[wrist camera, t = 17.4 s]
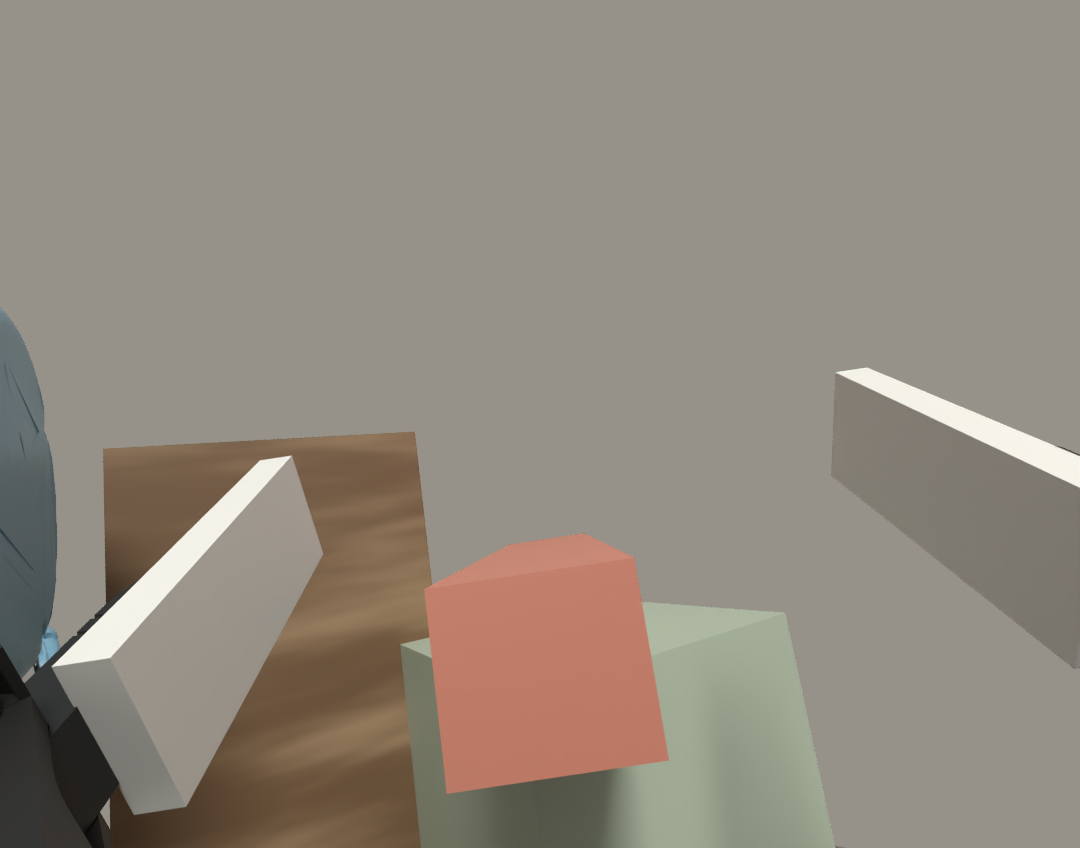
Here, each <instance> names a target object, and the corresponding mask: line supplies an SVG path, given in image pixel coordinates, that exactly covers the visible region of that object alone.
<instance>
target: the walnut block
mask: <svg viewBox="0 0 1080 848" xmlns="http://www.w3.org/2000/svg"><path fill="white" fill-rule="evenodd" d="M286 456H292V458H293V461H294V464H295V467H296V470H297V473H298V476H299V479H300V483H301V486H302V489H303V492H304V495H305V498H306V501H307V504H308V508H309V511H310V514H311V517H312V520H313V523H314V526H315V529H316V533H317V536H318V539H319V542H320V545H321V548H322V551H323V555H322V557H321V559H320V561H319V563H318V565H317V567H316V568H315V570H314V572H313V574H312V576H311V578H310V579H309V581H308V583H307V585H306V587H305V589H304V590H303V592H302V594H301V596H300V598H299V600H298V602H297V603H296V605H295V607H294V609H293V611H292V613H291V614H290V616H289V618H288V620H287V622H286V624H285V626H284V627H283V629H282V631H281V633H280V635H279V637H278V638H277V640H276V642H275V644H274V646H273V648H272V650H271V651H270V653H269V655H268V657H267V659H266V661H265V662H264V664H263V666H262V668H261V670H260V672H259V673H258V675H257V677H256V679H255V681H254V683H253V685H252V686H251V688H250V690H249V692H248V694H247V696H246V697H245V699H244V701H243V703H242V705H241V707H240V709H239V710H238V712H237V714H236V716H235V718H234V720H233V721H232V723H231V725H230V727H229V729H228V731H227V732H226V734H225V736H224V738H223V740H222V742H221V744H220V745H219V747H218V749H217V751H216V753H215V755H214V756H213V758H212V760H211V762H210V764H209V766H208V768H207V769H206V771H205V773H204V775H203V777H202V779H201V780H200V782H199V784H198V786H197V788H196V790H195V792H194V793H193V795H192V797H191V799H190V801H189V803H188V804H187V806H186V807H182V808H175V809H169V810H163V811H156V812H150V813H143V814H137V815H134V814H133V812H132V810H131V809H130V807H129V805H128V803H127V801H126V800H125V798H124V796H123V794H122V793H121V791H120V789H119V787H118V786H117V788H116V789H115V790H114V792H113V793H112V795H111V796H110V832H111V837H112V841H113V846H114V848H421V843H420V833H419V823H418V814H417V804H416V794H415V784H414V775H413V765H412V755H411V745H410V735H409V726H408V716H407V706H406V696H405V686H404V677H403V667H402V657H401V647H400V644H404V643H408V642H412V641H417V640H421V639H425V638H429V628H428V619H427V610H426V601H425V592H424V589H426V588H428V587H430V586H431V585H432V581H431V571H430V562H429V554H428V545H427V536H426V528H425V518H424V509H423V501H422V492H421V483H420V475H419V465H418V456H417V448H416V439H415V432H401V433H383V434H365V435H346V436H330V437H312V438H311V437H310V438H292V439H273V440H255V441H238V442H219V443H201V444H183V445H164V446H147V447H130V448H129V447H128V448H110V449H103V459H104V460H103V465H104V517H105V565H106V566H105V570H106V604H107V603H108V602H109V601H110V600H111V599H112V598H113V597H114V596H115V595H116V594H118V593H119V592H121V591H122V590H124V589H126V588H127V587H129V586H130V585H132V584H133V583H135V582H136V581H138V580H139V579H141V578H142V577H143V576H144V575H145V574H146V573H147V572H148V571H149V570H150V569H151V568H152V567H153V566H154V565H155V564H156V563H157V562H158V561H159V560H160V559H161V558H162V557H163V556H164V555H165V554H166V553H167V552H168V551H169V550H170V549H171V548H172V547H173V546H174V545H175V544H176V543H177V542H178V541H179V540H180V539H181V538H182V537H183V536H184V535H185V534H186V533H187V532H188V531H189V530H190V529H191V528H192V527H193V526H194V525H195V524H196V523H197V522H198V521H199V520H200V519H201V518H202V517H203V516H204V515H205V514H206V513H207V512H208V511H209V510H210V509H211V508H212V507H213V506H215V505H216V504H217V503H218V502H219V501H220V500H221V499H222V498H223V497H224V496H225V495H226V494H227V493H228V492H229V491H230V490H231V489H232V488H233V487H234V486H235V485H236V484H237V483H238V482H239V481H240V480H241V479H242V478H243V477H244V476H245V475H246V474H247V473H248V472H249V471H250V470H251V469H252V468H253V467H254V466H255V465H256V464H257V463H258V462H259V461H260V460H266V459H273V458H279V457H286Z"/></svg>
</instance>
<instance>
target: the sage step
mask: <svg viewBox="0 0 1080 848" xmlns="http://www.w3.org/2000/svg"><path fill="white" fill-rule="evenodd" d="M642 606H643V612H644V618H645V623H646V629H647V635H648V641H649V647H650V652H651V658H652V664H653V670H654V675H655V681H656V687H657V693H658V699H659V704H660V710H661V716H662V722H663V728H664V733H665V739H666V745H667V751H668V756H669V761H662V762H656V763H649V764H642V765H636V766H629V767H622V768H616V769H609V770H602V771H596V772H589V773H582V774H576V775H569V776H562V777H556V778H549V779H542V780H536V781H529V782H522V783H516V784H509V785H502V786H496V787H489V788H482V789H475V790H469V791H462V792H455V793H449V794H447V791H446V782H445V773H444V764H443V755H442V746H441V737H440V728H439V719H438V710H437V701H436V692H435V683H434V674H433V665H432V656H431V647H430V637H429V638H425V639H421V640H417V641H412V642H408V643H404V644H400V647H401V657H402V667H403V677H404V686H405V696H406V706H407V716H408V726H409V735H410V745H411V755H412V765H413V775H414V784H415V794H416V804H417V814H418V823H419V833H420V843H421V848H835V844H834V840H833V835H832V830H831V826H830V821H829V816H828V812H827V807H826V802H825V798H824V793H823V788H822V784H821V779H820V774H819V769H818V765H817V760H816V755H815V751H814V746H813V742H812V737H811V732H810V727H809V723H808V718H807V713H806V709H805V704H804V699H803V694H802V690H801V686H800V681H799V676H798V671H797V666H796V662H795V658H794V652H793V648H792V643H791V638H790V634H789V629H788V624H787V619H786V615H785V613H778V612H766V611H753V610H741V609H728V608H714V607H702V606H689V605H688V606H687V605H676V604H663V603H649V602H642Z"/></svg>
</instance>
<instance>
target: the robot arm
mask: <svg viewBox="0 0 1080 848" xmlns="http://www.w3.org/2000/svg"><path fill="white" fill-rule="evenodd" d="M833 422H834V423H833V445H832V446H833V447H832V471H831V476H832V477H833V478H835V479H836V480H837V481H839V482H840V483H841V484H842V485H844V486H845V487H846V488H847V489H848V490H850V491H851V492H852V493H854V494H855V495H856V496H857V497H859V498H860V499H861V500H862V501H864V502H865V503H866V504H867V505H869V506H870V507H871V508H872V509H874V510H875V511H876V512H878V513H879V514H880V515H881V516H883V517H884V518H885V519H886V520H887V521H889V522H890V523H891V524H893V525H894V526H895V527H896V528H898V529H899V530H900V531H901V532H903V533H904V534H905V535H907V536H908V537H909V538H910V539H911V540H913V541H914V542H915V543H916V544H918V545H919V546H920V547H921V548H923V549H924V550H925V551H926V552H928V553H929V554H930V555H932V556H933V557H934V558H935V559H936V560H938V561H939V562H940V563H942V564H943V565H944V566H945V567H947V568H948V569H949V570H950V571H952V572H953V573H954V574H955V575H957V576H958V577H959V578H960V579H962V580H963V581H964V582H965V583H967V584H968V585H969V586H970V587H972V588H973V589H974V590H975V591H977V592H978V593H979V594H981V595H982V596H983V597H984V598H986V599H987V600H988V601H989V602H991V603H992V604H993V605H994V606H996V607H997V608H998V609H999V610H1001V611H1002V612H1003V613H1004V614H1006V615H1007V616H1008V617H1010V618H1011V619H1012V620H1013V621H1014V622H1016V623H1017V624H1018V625H1020V626H1021V627H1022V628H1023V629H1025V630H1026V631H1027V632H1028V633H1030V634H1031V635H1032V636H1033V637H1035V638H1036V639H1037V640H1039V641H1040V642H1041V643H1042V644H1044V645H1045V646H1046V647H1047V648H1048V649H1050V650H1051V651H1052V652H1054V653H1055V654H1056V655H1057V656H1059V657H1060V658H1061V659H1062V660H1064V661H1065V662H1066V663H1067V664H1069V665H1070V666H1071V667H1072V668H1074V669H1076V668H1080V455H1079V454H1077V453H1075V452H1072V451H1070V450H1067V449H1065V448H1062V447H1058V446H1054V445H1051V444H1049V443H1046V442H1044V441H1042V440H1039V439H1037V438H1035V437H1032V436H1030V435H1027V434H1025V433H1023V432H1020V431H1018V430H1015V429H1013V428H1010V427H1008V426H1006V425H1003V424H1001V423H998V422H996V421H994V420H991V419H989V418H987V417H984V416H982V415H979V414H977V413H975V412H972V411H970V410H967V409H965V408H962V407H960V406H958V405H955V404H953V403H951V402H948V401H945V400H943V399H941V398H939V397H936V396H934V395H931V394H929V393H927V392H924V391H922V390H919V389H917V388H915V387H912V386H910V385H907V384H905V383H903V382H900V381H898V380H895V379H893V378H891V377H888V376H886V375H883V374H881V373H878V372H876V371H874V370H871V369H869V368H861V369H855V370H848V371H842V372H836V373H835V398H834V421H833ZM322 555H323V551H322V548H321V545H320V542H319V539H318V536H317V533H316V529H315V526H314V523H313V520H312V517H311V514H310V511H309V508H308V504H307V501H306V498H305V495H304V492H303V489H302V486H301V483H300V479H299V476H298V473H297V470H296V467H295V464H294V461H293V458H292V456H286V457H279V458H273V459H266V460H260V461H259V462H258V463H257V464H256V465H255V466H254V467H253V468H252V469H251V470H250V471H249V472H248V473H247V474H246V475H245V476H244V477H243V478H242V479H241V480H240V481H239V482H238V483H237V484H236V485H235V486H234V487H233V488H232V489H231V490H230V491H229V492H228V493H227V494H226V495H225V496H224V497H223V498H222V499H221V500H220V501H219V502H218V503H217V504H216V505H215V506H213V507H212V508H211V509H210V510H209V511H208V512H207V513H206V514H205V515H204V516H203V517H202V518H201V519H200V520H199V521H198V522H197V523H196V524H195V525H194V526H193V527H192V528H191V529H190V530H189V531H188V532H187V533H186V534H185V535H184V536H183V537H182V538H181V539H180V540H179V541H178V542H177V543H176V544H175V545H174V546H173V547H172V548H171V549H170V550H169V551H168V552H167V553H166V554H165V555H164V556H163V557H162V558H161V559H160V560H159V561H158V562H157V563H156V564H155V565H154V566H153V567H152V568H151V569H150V570H149V571H148V572H147V573H146V574H145V575H144V576H143V577H142V578H141V579H139V580H138V581H136V582H135V583H133V584H132V585H130V586H129V587H127V588H126V589H124V590H122V591H121V592H119V593H118V594H116V595H115V596H114V597H113V598H112V599H111V600H110V601H109V602H108V603H107V604H106V605H105V606H104V607H103V608H102V609H101V610H100V611H99V612H98V613H96V614H95V619H90V620H89V621H88V622H87V623H86V624H85V625H84V626H83V627H82V628H81V629H80V630H79V631H78V632H77V634H78V635H77V636H73V637H72V638H71V639H70V640H69V641H68V642H67V643H65V644H64V646H62V647H61V648H60V645H59V641H58V636H57V633H56V632H55V630H54V629H53V628H52V627H50V626H48V624H49V621H50V618H51V615H52V608H53V600H54V593H55V583H56V558H57V523H56V495H55V483H54V473H53V464H52V456H51V452H50V447H49V443H48V441H47V437H46V434H45V432H44V406H43V401H42V396H41V392H40V388H39V385H38V381H37V377H36V374H35V370H34V367H33V364H32V361H31V359H30V356H29V353H28V351H27V348H26V346H25V343H24V341H23V339H22V337H21V335H20V333H19V331H18V330H17V328H16V326H15V325H14V323H13V322H12V321H11V319H10V318H9V317H8V315H7V314H6V313H5V312H4V311H3V309H2V308H1V307H0V848H114V846H113V841H112V837H111V832H110V829H109V827H108V825H107V824H106V822H105V820H104V818H103V817H102V815H101V813H100V811H101V810H102V808H103V807H104V805H105V804H106V802H107V801H108V799H109V798H110V796H111V795H112V793H113V792H114V790H115V789H116V788H117V786H118V787H119V789H120V791H121V793H122V794H123V796H124V798H125V800H126V801H127V803H128V805H129V807H130V809H131V810H132V812H133V814H134V815H137V814H143V813H150V812H156V811H163V810H169V809H175V808H182V807H186V806H187V804H188V803H189V801H190V799H191V797H192V795H193V793H194V792H195V790H196V788H197V786H198V784H199V782H200V780H201V779H202V777H203V775H204V773H205V771H206V769H207V768H208V766H209V764H210V762H211V760H212V758H213V756H214V755H215V753H216V751H217V749H218V747H219V745H220V744H221V742H222V740H223V738H224V736H225V734H226V732H227V731H228V729H229V727H230V725H231V723H232V721H233V720H234V718H235V716H236V714H237V712H238V710H239V709H240V707H241V705H242V703H243V701H244V699H245V697H246V696H247V694H248V692H249V690H250V688H251V686H252V685H253V683H254V681H255V679H256V677H257V675H258V673H259V672H260V670H261V668H262V666H263V664H264V662H265V661H266V659H267V657H268V655H269V653H270V651H271V650H272V648H273V646H274V644H275V642H276V640H277V638H278V637H279V635H280V633H281V631H282V629H283V627H284V626H285V624H286V622H287V620H288V618H289V616H290V614H291V613H292V611H293V609H294V607H295V605H296V603H297V602H298V600H299V598H300V596H301V594H302V592H303V590H304V589H305V587H306V585H307V583H308V581H309V579H310V578H311V576H312V574H313V572H314V570H315V568H316V567H317V565H318V563H319V561H320V559H321V557H322Z"/></svg>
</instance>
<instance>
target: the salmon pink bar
mask: <svg viewBox="0 0 1080 848" xmlns="http://www.w3.org/2000/svg"><path fill="white" fill-rule="evenodd" d="M424 592H425V601H426V610H427V619H428V628H429V637H430V647H431V656H432V665H433V674H434V683H435V692H436V701H437V710H438V719H439V728H440V737H441V746H442V755H443V764H444V773H445V782H446V791H447V794H449V793H455V792H462V791H469V790H475V789H482V788H489V787H496V786H502V785H509V784H516V783H522V782H529V781H536V780H542V779H549V778H556V777H562V776H569V775H576V774H582V773H589V772H596V771H602V770H609V769H616V768H622V767H629V766H636V765H642V764H649V763H656V762H662V761H669V756H668V751H667V745H666V739H665V733H664V728H663V722H662V716H661V710H660V704H659V699H658V693H657V687H656V681H655V675H654V670H653V664H652V658H651V652H650V647H649V641H648V635H647V629H646V623H645V618H644V612H643V606H642V601H641V595H640V589H639V583H638V577H637V571H636V566H635V560H634V557H632V556H630V555H628V554H626V553H623V552H622V551H620V550H617V549H615V548H613V547H611V546H609V545H607V544H605V543H603V542H601V541H599V540H597V539H595V538H593V537H591V536H589V535H587V534H585V533H583V534H576V535H570V536H563V537H557V538H550V539H543V540H537V541H530V542H523V543H517V544H510V545H508V546H506V547H504V548H502V549H500V550H498V551H496V552H494V553H493V554H491V555H489V556H487V557H485V558H483V559H481V560H479V561H477V562H476V563H473V564H472V565H470V566H468V567H466V568H464V569H462V570H460V571H458V572H456V573H454V574H452V575H450V576H449V577H447V578H445V579H443V580H441V581H439V582H437V583H435V584H433V585H431V586H430V587H428V588H426V589H424Z"/></svg>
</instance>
